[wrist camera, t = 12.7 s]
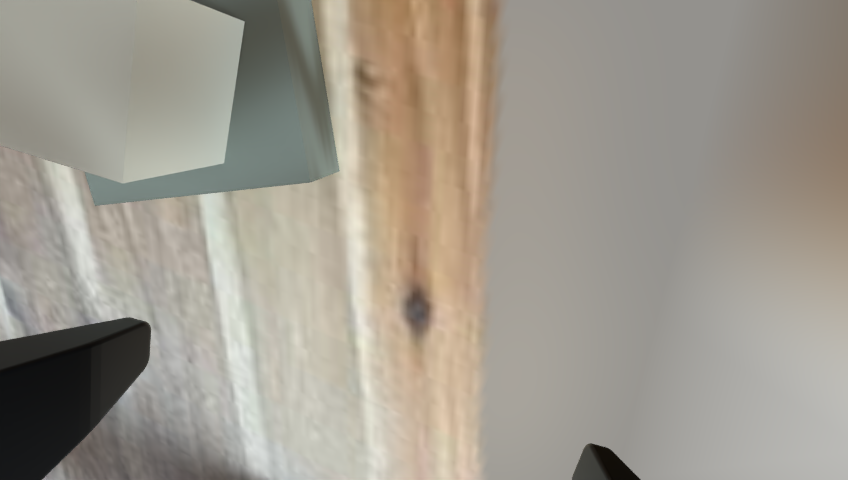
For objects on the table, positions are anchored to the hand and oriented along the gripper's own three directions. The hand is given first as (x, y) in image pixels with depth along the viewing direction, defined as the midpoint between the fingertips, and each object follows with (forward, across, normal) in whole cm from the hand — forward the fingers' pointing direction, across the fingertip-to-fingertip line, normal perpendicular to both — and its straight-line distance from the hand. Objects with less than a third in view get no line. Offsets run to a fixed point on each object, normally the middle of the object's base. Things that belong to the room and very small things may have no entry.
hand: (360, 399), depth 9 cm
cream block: (+8, +10, -5) cm, 14 cm away
